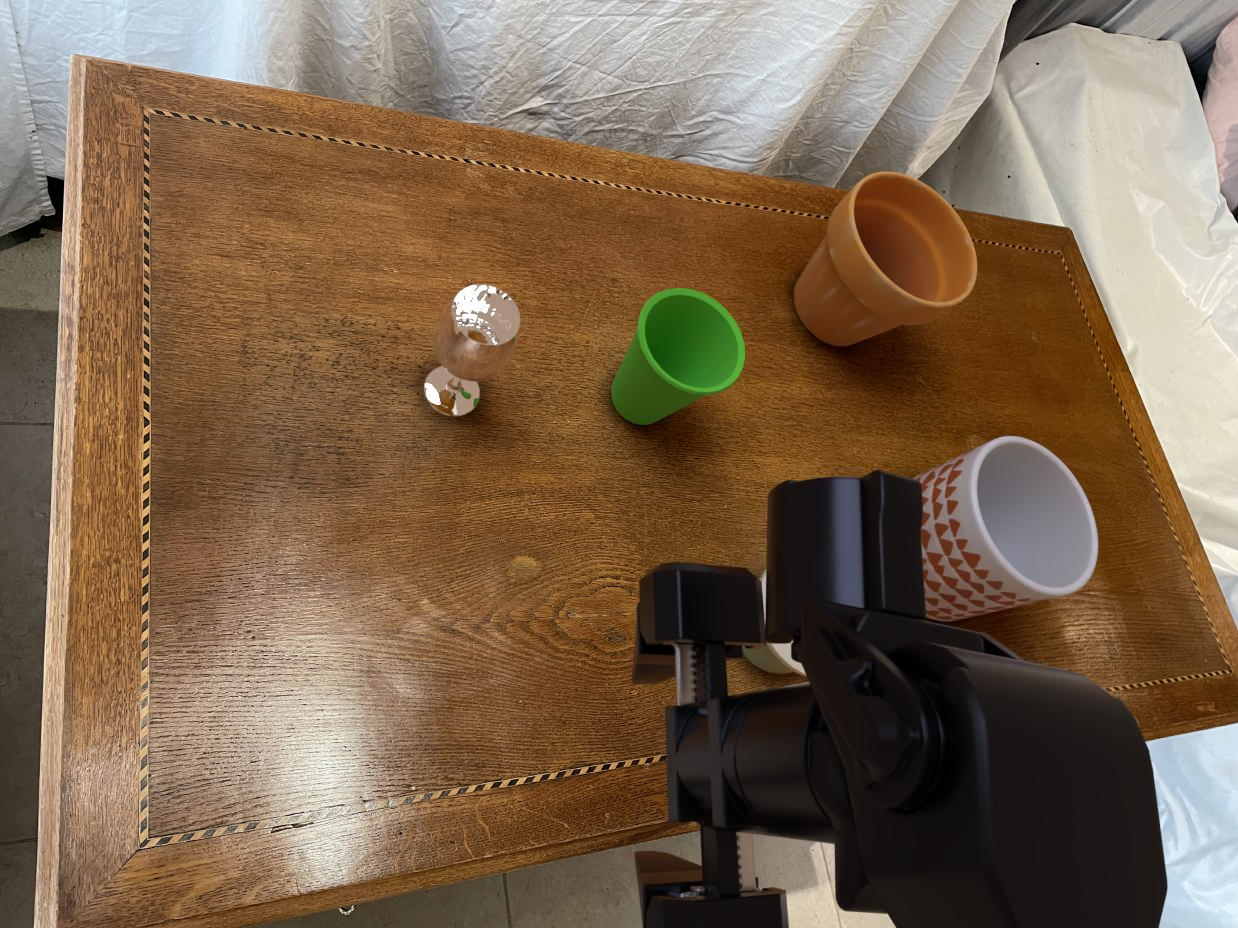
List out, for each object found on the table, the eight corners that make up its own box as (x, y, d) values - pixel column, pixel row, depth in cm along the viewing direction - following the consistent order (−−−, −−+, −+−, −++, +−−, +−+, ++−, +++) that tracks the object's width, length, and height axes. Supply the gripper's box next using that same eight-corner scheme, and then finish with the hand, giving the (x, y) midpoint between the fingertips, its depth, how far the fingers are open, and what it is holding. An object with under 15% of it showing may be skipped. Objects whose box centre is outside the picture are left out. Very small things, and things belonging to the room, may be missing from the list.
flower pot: (905, 358, 83) (1002, 294, 72) (806, 383, 77) (896, 316, 66) (849, 245, 86) (934, 165, 75) (748, 259, 80) (825, 175, 69)
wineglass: (477, 354, 64) (515, 274, 54) (496, 418, 63) (538, 348, 53) (407, 362, 62) (433, 279, 52) (424, 429, 60) (454, 357, 50)
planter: (979, 643, 74) (1101, 620, 63) (859, 590, 71) (966, 556, 60) (987, 515, 80) (1100, 473, 69) (877, 461, 77) (977, 409, 66)
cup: (595, 340, 69) (646, 271, 60) (687, 370, 72) (749, 309, 62) (581, 430, 66) (632, 372, 56) (678, 459, 68) (743, 408, 59)
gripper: (996, 1014, 31) (777, 941, 44) (923, 548, 37) (752, 608, 51) (746, 1054, 27) (589, 960, 40) (715, 525, 33) (590, 597, 47)
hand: (641, 764), depth 45 cm, fingers open, 9 cm apart
